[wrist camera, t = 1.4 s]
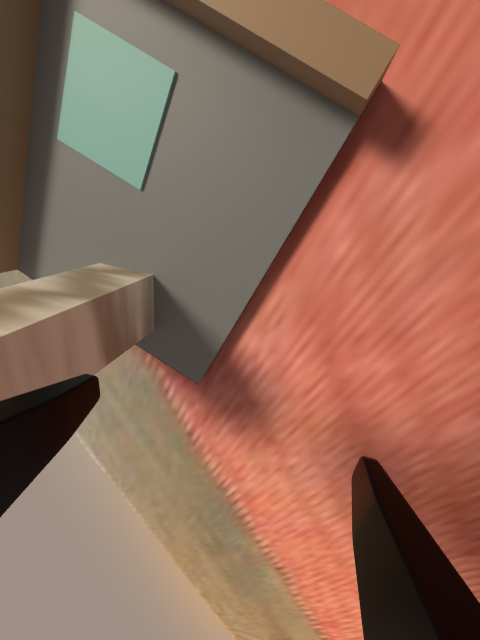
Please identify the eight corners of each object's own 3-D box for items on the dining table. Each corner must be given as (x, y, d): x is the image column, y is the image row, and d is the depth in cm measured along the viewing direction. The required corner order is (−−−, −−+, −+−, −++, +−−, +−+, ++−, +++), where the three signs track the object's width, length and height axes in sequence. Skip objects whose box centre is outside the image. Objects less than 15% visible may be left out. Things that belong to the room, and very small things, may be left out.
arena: (381, 80, 14) (399, 44, 11) (202, 378, 25) (186, 402, 22) (38, -122, 15) (-37, -211, 12) (10, 256, 26) (-32, 263, 23)
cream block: (153, 274, 21) (-48, 356, 10) (153, 330, 23) (-10, 452, 12) (99, 263, 22) (-143, 324, 10) (104, 317, 24) (-92, 418, 13)
